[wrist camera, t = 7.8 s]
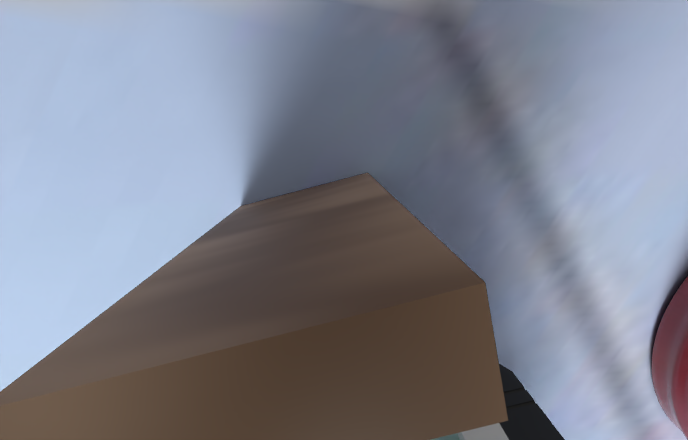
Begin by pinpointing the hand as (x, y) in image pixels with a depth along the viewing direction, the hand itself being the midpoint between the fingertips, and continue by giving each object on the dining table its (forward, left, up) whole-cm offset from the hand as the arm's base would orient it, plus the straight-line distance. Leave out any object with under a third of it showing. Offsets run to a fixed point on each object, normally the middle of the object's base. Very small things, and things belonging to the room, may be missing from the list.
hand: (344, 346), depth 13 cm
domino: (0, +5, -2) cm, 5 cm away
